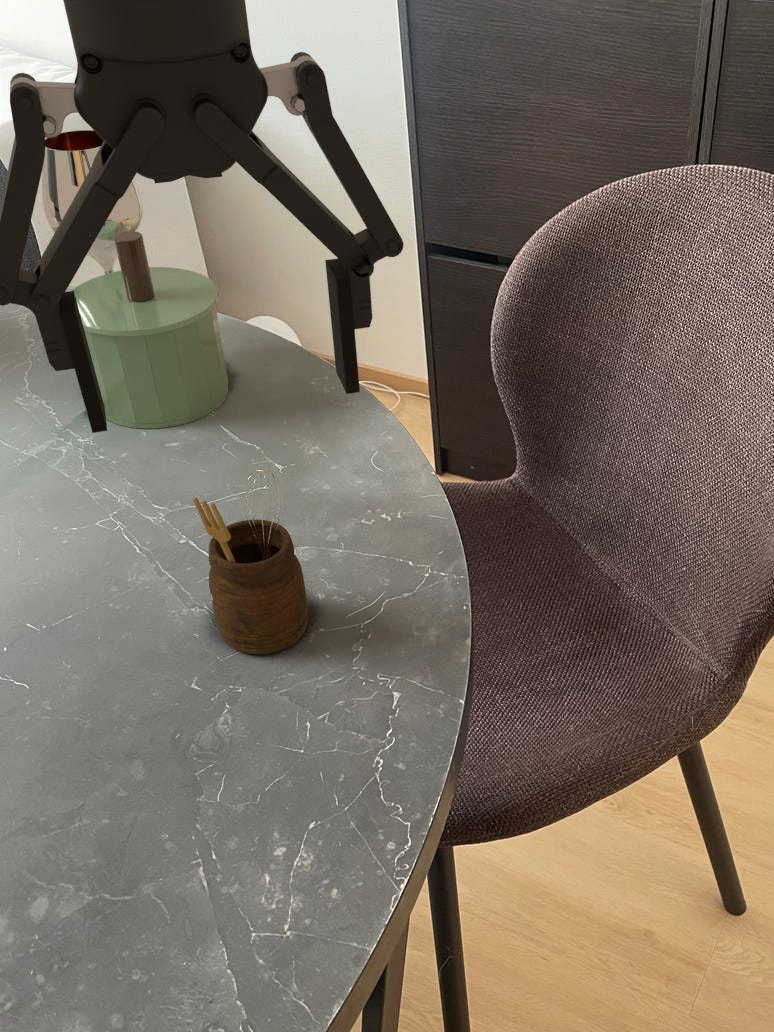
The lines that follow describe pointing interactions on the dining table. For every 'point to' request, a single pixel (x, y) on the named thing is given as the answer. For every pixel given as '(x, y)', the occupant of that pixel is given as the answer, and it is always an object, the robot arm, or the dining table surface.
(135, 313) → the pot lid
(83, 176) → the wineglass
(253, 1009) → the dining table surface
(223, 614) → the utensil holder
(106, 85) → the robot arm
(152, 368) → the pot
